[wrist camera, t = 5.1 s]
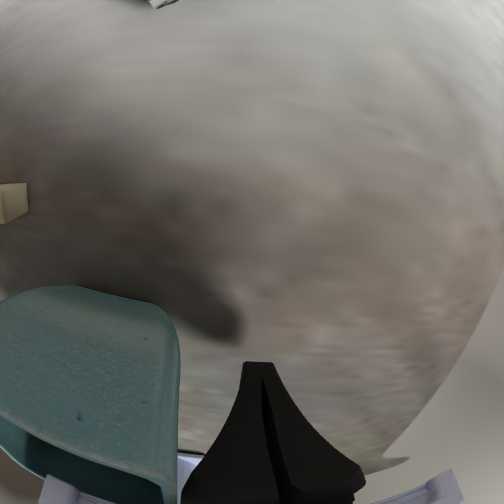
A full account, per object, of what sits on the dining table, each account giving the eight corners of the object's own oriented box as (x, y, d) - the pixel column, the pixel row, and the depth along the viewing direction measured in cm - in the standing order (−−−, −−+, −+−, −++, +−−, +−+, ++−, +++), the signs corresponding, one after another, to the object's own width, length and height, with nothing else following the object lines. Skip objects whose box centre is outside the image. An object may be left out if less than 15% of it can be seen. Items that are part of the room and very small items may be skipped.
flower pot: (192, 396, 15) (179, 525, 7) (69, 363, 14) (19, 466, 6) (208, 278, 12) (176, 483, 4) (45, 244, 11) (-73, 351, 3)
